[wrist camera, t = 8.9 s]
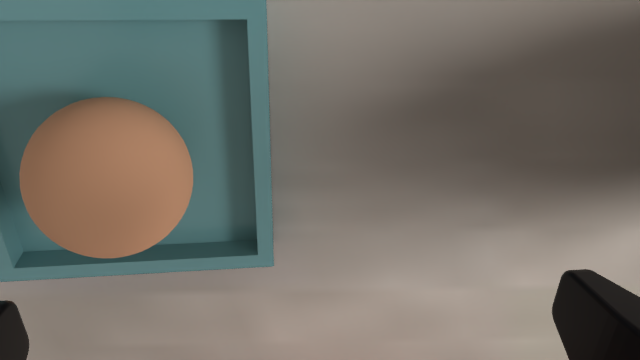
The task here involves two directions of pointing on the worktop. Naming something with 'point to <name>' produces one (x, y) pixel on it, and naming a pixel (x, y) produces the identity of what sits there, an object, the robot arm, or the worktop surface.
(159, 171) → the ball
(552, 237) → the worktop surface
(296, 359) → the worktop surface
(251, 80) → the coaster tray
